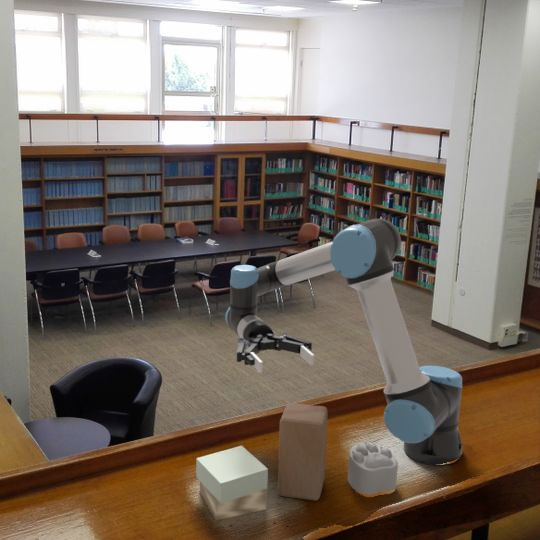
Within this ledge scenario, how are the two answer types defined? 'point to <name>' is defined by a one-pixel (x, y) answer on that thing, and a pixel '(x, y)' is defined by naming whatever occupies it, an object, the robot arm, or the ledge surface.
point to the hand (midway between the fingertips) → (287, 363)
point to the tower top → (231, 474)
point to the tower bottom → (234, 504)
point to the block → (302, 451)
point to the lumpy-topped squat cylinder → (372, 468)
